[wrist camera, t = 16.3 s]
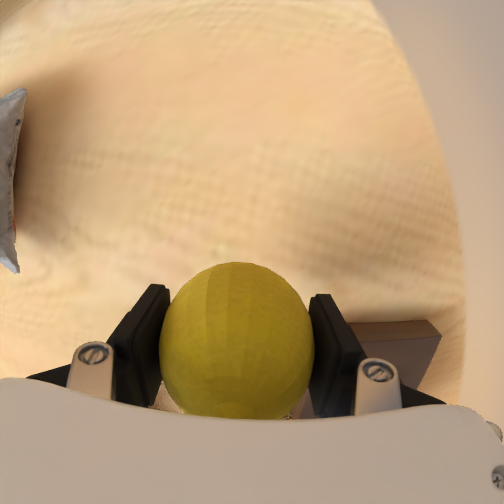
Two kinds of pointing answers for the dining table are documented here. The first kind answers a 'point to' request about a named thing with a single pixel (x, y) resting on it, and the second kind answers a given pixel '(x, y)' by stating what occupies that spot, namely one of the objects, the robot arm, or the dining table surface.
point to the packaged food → (9, 172)
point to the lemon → (237, 344)
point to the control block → (390, 353)
